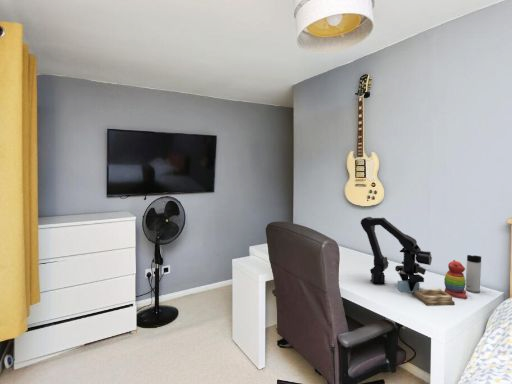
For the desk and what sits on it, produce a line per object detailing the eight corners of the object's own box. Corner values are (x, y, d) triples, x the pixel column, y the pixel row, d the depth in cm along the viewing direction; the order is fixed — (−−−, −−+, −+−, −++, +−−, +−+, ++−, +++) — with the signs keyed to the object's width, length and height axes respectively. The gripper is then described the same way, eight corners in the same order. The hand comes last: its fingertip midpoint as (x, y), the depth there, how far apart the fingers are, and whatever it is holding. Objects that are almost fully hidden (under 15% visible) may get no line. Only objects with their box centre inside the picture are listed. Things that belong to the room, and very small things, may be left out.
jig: (426, 305, 144) (426, 298, 143) (412, 295, 156) (413, 288, 155) (454, 304, 144) (454, 297, 144) (438, 294, 156) (438, 287, 156)
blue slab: (400, 292, 160) (401, 281, 159) (397, 289, 164) (397, 278, 163) (419, 292, 159) (419, 281, 159) (415, 289, 163) (415, 278, 163)
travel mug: (467, 292, 158) (469, 256, 156) (464, 287, 164) (465, 252, 162) (481, 294, 155) (483, 257, 154) (477, 289, 161) (479, 253, 160)
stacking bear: (467, 300, 149) (469, 266, 147) (444, 295, 154) (445, 262, 153) (465, 292, 158) (467, 260, 157) (443, 288, 163) (444, 257, 162)
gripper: (434, 266, 151) (433, 295, 152) (414, 255, 170) (413, 281, 171) (413, 266, 151) (412, 296, 152) (395, 256, 169) (394, 282, 171)
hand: (408, 288), depth 161 cm, fingers open, 5 cm apart
